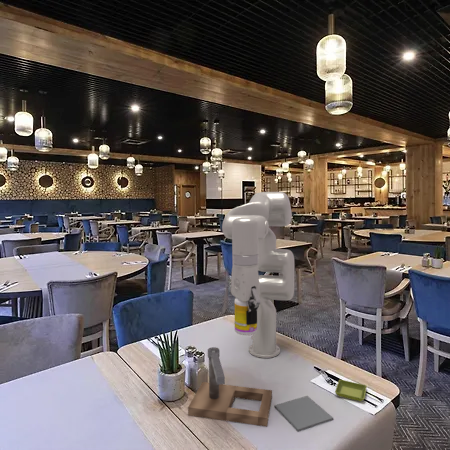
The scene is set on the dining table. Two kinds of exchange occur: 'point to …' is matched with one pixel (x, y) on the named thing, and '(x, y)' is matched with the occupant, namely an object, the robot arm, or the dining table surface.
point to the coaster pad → (303, 413)
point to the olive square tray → (351, 390)
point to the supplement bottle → (243, 319)
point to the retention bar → (216, 365)
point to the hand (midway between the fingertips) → (245, 319)
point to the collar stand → (229, 402)
